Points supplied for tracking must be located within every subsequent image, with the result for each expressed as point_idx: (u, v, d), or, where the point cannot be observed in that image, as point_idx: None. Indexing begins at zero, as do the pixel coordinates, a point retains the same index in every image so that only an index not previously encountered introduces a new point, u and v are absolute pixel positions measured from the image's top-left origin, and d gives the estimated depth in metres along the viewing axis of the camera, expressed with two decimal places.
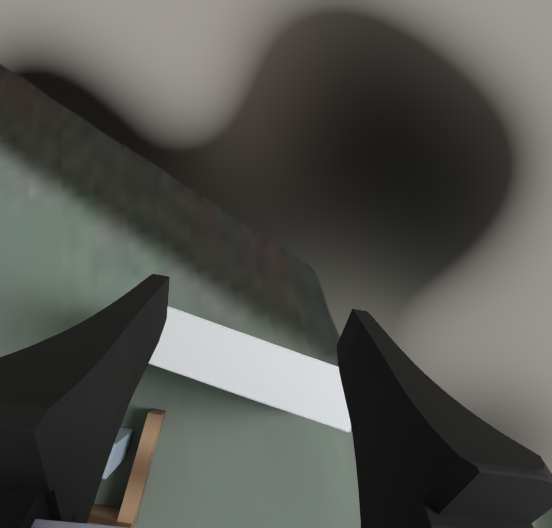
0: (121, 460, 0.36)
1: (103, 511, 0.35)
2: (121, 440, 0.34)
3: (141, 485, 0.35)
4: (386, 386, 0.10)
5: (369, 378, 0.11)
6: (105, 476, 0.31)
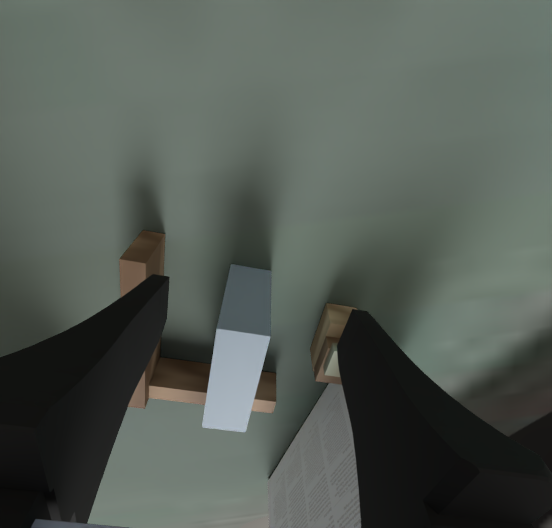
0: None
1: (156, 352, 0.27)
2: None
3: (190, 402, 0.27)
4: (386, 386, 0.10)
5: (369, 378, 0.11)
6: (205, 426, 0.23)
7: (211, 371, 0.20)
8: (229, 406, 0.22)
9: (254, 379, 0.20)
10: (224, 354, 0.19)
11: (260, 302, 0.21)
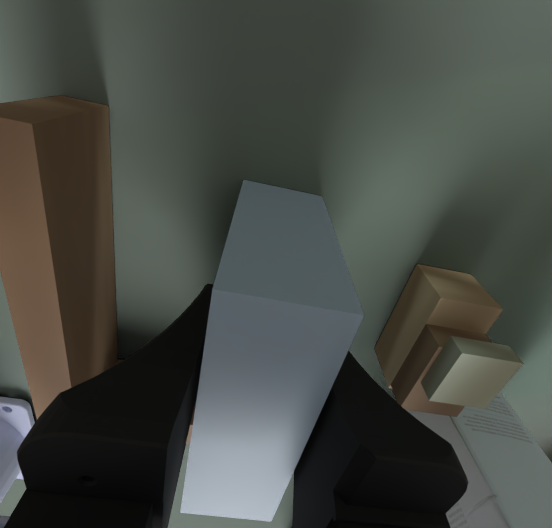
0: None
1: (105, 351, 0.15)
2: None
3: None
4: None
5: None
6: (186, 510, 0.11)
7: (199, 404, 0.08)
8: (240, 477, 0.10)
9: (302, 424, 0.08)
10: (232, 363, 0.07)
11: (315, 241, 0.09)
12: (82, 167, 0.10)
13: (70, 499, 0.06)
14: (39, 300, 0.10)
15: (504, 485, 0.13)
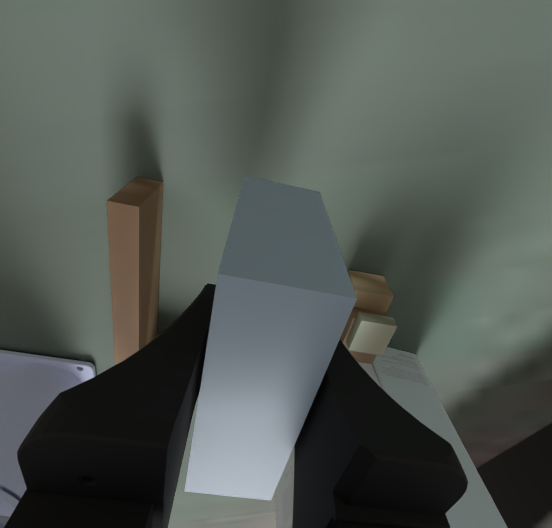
0: None
1: (152, 325, 0.23)
2: None
3: None
4: None
5: None
6: (190, 489, 0.11)
7: (203, 384, 0.09)
8: (241, 456, 0.10)
9: (300, 403, 0.09)
10: (235, 344, 0.08)
11: (313, 232, 0.10)
12: (151, 219, 0.18)
13: (70, 499, 0.06)
14: (128, 291, 0.18)
15: None
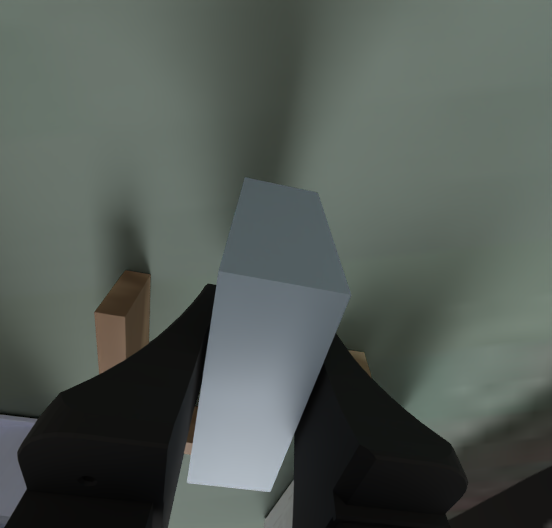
0: None
1: None
2: None
3: None
4: (318, 376, 0.09)
5: None
6: (192, 481, 0.12)
7: (205, 377, 0.09)
8: (242, 448, 0.11)
9: (298, 396, 0.09)
10: (235, 339, 0.08)
11: (311, 232, 0.10)
12: (139, 314, 0.19)
13: (70, 499, 0.06)
14: None
15: None
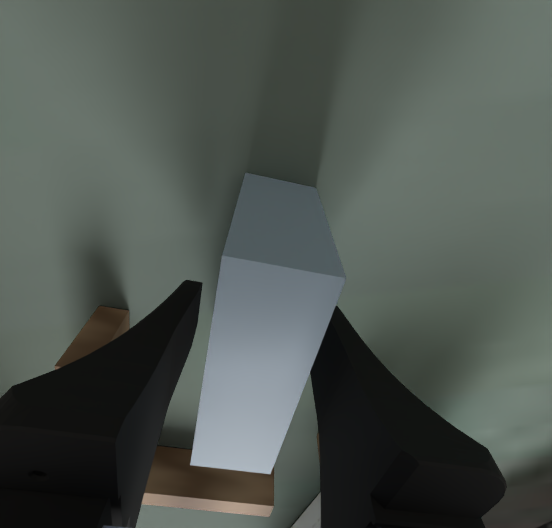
0: None
1: None
2: None
3: (166, 505, 0.22)
4: (346, 380, 0.09)
5: (333, 372, 0.11)
6: (195, 463, 0.12)
7: (208, 359, 0.09)
8: (243, 430, 0.11)
9: (296, 378, 0.10)
10: (237, 321, 0.09)
11: (309, 223, 0.10)
12: None
13: (22, 494, 0.06)
14: None
15: None
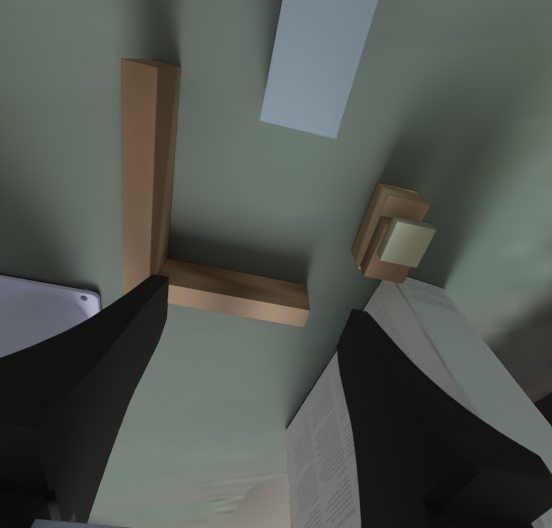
0: None
1: (163, 243, 0.22)
2: None
3: (204, 308, 0.22)
4: (386, 386, 0.10)
5: (369, 378, 0.11)
6: (265, 118, 0.13)
7: None
8: (318, 54, 0.11)
9: None
10: None
11: None
12: (168, 102, 0.17)
13: None
14: (141, 181, 0.17)
15: (430, 323, 0.19)
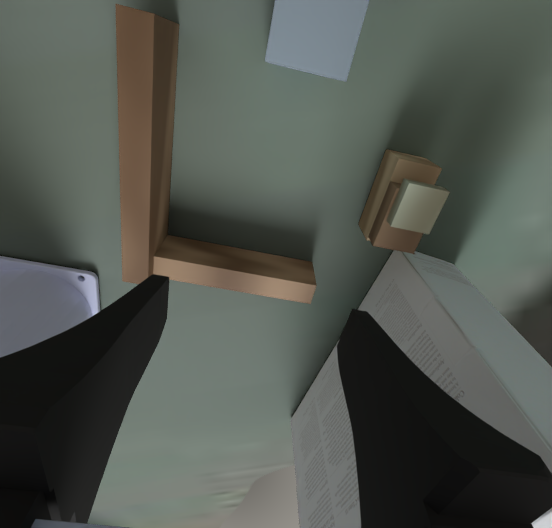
0: None
1: (163, 216, 0.21)
2: None
3: (207, 284, 0.21)
4: (386, 386, 0.10)
5: (369, 378, 0.11)
6: (270, 59, 0.12)
7: None
8: None
9: None
10: None
11: None
12: (166, 58, 0.16)
13: None
14: (139, 143, 0.16)
15: (444, 293, 0.19)
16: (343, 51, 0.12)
